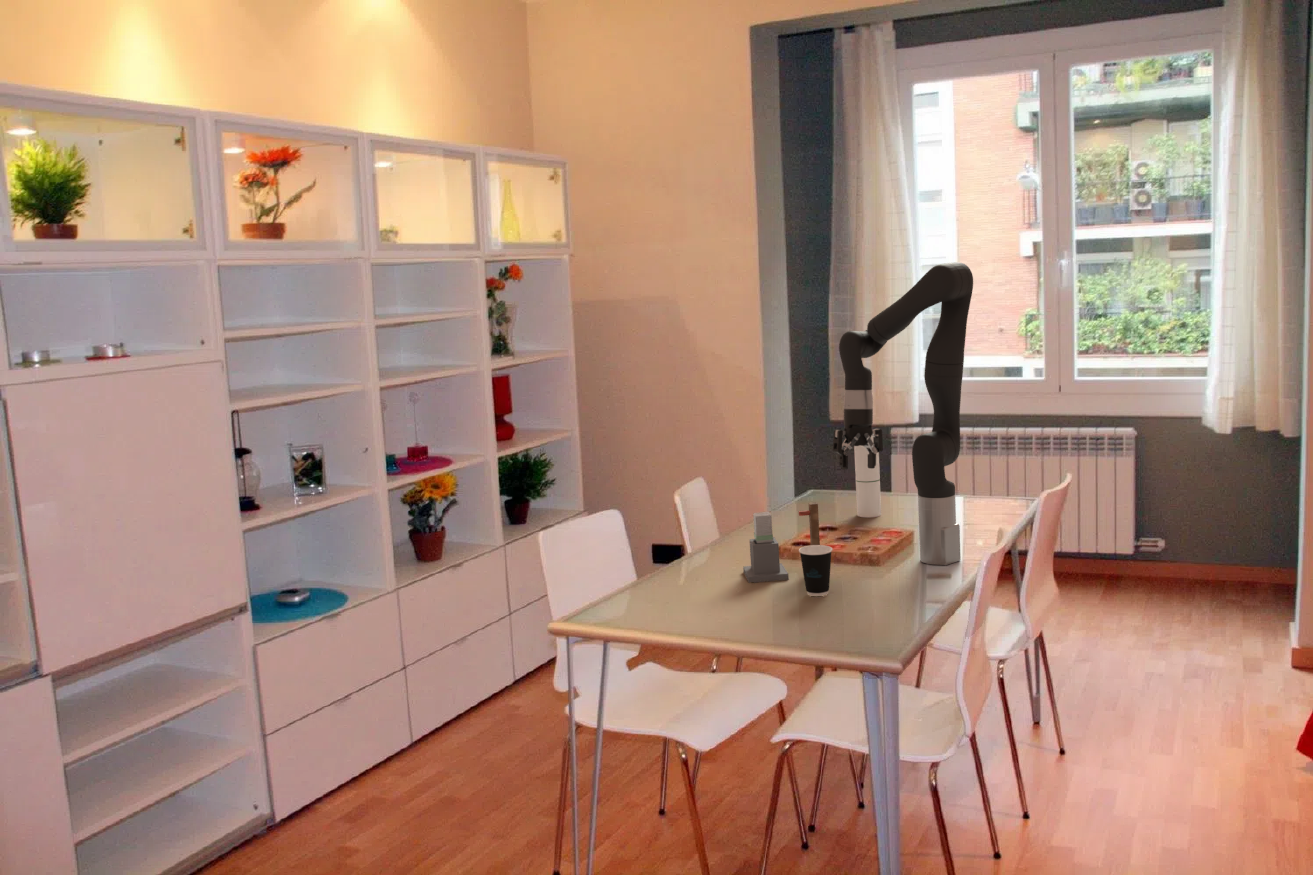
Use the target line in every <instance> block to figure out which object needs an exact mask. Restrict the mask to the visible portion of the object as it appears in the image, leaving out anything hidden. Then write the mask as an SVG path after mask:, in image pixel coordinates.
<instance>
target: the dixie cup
mask: <svg viewBox="0 0 1313 875" xmlns="http://www.w3.org/2000/svg"><path fill="white" fill-rule="evenodd" d="M798 552H799V555H800V560H801V566H802V573H803V580H804V585H805V591H806V592H807V595H808V594H809V595H811V596H822V595H826V594H828V595H829V591H830V582H831V580H830V579H831V564H832V562H831V561H832V552H833V547H831V546H829V545H824V544H820V545H811V544H810V545H805V546H802V547H800V548H799V549H798ZM811 596H810V597H811ZM826 596H827V595H826Z"/></svg>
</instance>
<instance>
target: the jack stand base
mask: <svg viewBox="0 0 1313 875" xmlns="http://www.w3.org/2000/svg"><path fill="white" fill-rule="evenodd" d="M748 540H749V554H750V565H745V566H743V568H742V569H743V574H744V576H745V578H746V579H747V582H748V583H749V584H751V583H750V582H754V583H763V582H765V581H766V582H776V581H775V580H777V581H787V580H790V579H789V573H788V570H787V569H786V568H785V566H784V565H783V563H782V562H780V549H779V548H780V547H779V542H778V541H777V539H776V537H774V536H773V543H766V544H755V538H749V539H748Z"/></svg>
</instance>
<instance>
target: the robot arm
mask: <svg viewBox="0 0 1313 875" xmlns="http://www.w3.org/2000/svg"><path fill="white" fill-rule="evenodd" d="M973 288H974V276H973V273H972V271H971V269H970V267H969V266H968V265H967V264H965V263H963V262H958V261H957V262H947V263H939V264H936V265H934V266H932V267H931V268H930V269H929V270H928V271H927V272H926V273H925V274H924V275H923V276H922V277H921V278H920V279H919V280H918V281H917V282H916V284H914V285H913V286H912V287H911V288H910V289H909V290H908V291H907V292H906V293H905V294H904V295H902V296H901V297H900V298H899V299H898V300H896V301H895V302H894V303H892V304H891V305H889V306H888V307H886V308H885V309H883V310H882V311H881V312H880V313H878V314H877V315H875V316H873V317H872V318H871V319H870V320H869V321H868V323H867V325H866V326H867V328H866V329H865V330H864V331H863V330H848V331H845V333H843V334H842V336H841V338H840V340H839V343H838V351H839V356H840V357H839V358H840V360H841V365H842V369H843V371H844V395H843V425H844V429H843V430H841V429H834V430H833V439H832V440H833V441H832V442H833V443H832V452H833V453H835V454H838V456H839V467H840V469H841V470H844V471H845V470H846V471H847V470H848V468H849V455H848V454H849V452H850V451H851V449H853V448H854V446H864V447H865V448H866V450H867V451H868V453H869V454H868V468H871V469H872V468H875V466H876V454H877V453H878V452H879V453H881V452H883V451H884V447H883V446H884V443H883V441H884V440H883V430H882V428H874V429H872V425H873V420H874V417H873V416H874V415H873V414H874V411H873V410H874V408H873V407H874V401H873V400H874V399H873V398H874V397H873V390H872V389H873V373H872V370H871V368H868V367H866V366H864V363H863V359H868V358H871V357H872V356H874V355H876V354H878V352H880V351H881V349H883V348H884V346H885V345H886V343H887V342H888V341H890V340H891V339H892V338H894V337H895V336H898V335H899V334H900V333H901V332H903V331H904V330H905V329H906V328H907V327H909V325H911V324H912V322H913V321H914V319H915V318H916V317H917V316H919V314H920V313H922V312H923V311H925V310H927V309H928V308H930V307H933V306H934V305H938V304H940V303H941V305H940V307H941V308H940V314H939V321H938V324H937V326H936V329H935V331H934V333H933V335H932V337H931V339H930V342H929V344H928V347H927V351H926V352H925V354H926V355H925V363H924V375H923V376H924V384H925V387H926V390H927V393H928V395H929V398H930V400H931V403H932V408H933V420H932V421H933V422H932V428H931V432H926V433H923V434H921V435H919V436H917V437H916V438H915V440H914V441H913V444H912V449H911V457H912V458H911V461H912V471H913V481H914V484H915V486H916V488H917V489H916V490H917V508H918V513H917V514H918V531H919V532H918V533H919V534H918V535H919V538H918V539H919V560H920V562H921V563H924V564H927V565H936V566H937V565H938V566H940V565H941V566H948V565H951V564H954V563H957V562H959V561H961V533H960V532H961V531H960V530H961V528H960V527H961V526H960V524H959V523H957V511H956V508H957V506H956V505H957V504H956V485H955V483H954V482H953V481H952V480H947V478H946V474H945V473H946V471H945V467H946V466H950V465H952V464H953V463H955V462H956V461H957V460H958V458H959V455H960V451H961V426H960V424H961V421H960V420H961V419H960V418H961V417H960V412H961V397H962V396H961V395H962V384H963V373H964V362H965V360H964V359H965V346H966V337H967V324H968V316H969V312H970V306H971V299H972V295H973ZM871 436H873V442H872V440H871ZM844 438H845V439H844ZM843 439H844V440H843Z"/></svg>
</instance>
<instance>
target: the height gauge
mask: <svg viewBox="0 0 1313 875" xmlns="http://www.w3.org/2000/svg"><path fill="white" fill-rule="evenodd" d="M798 516H799V517H803V516H808V518H809V536H810V537H809V538H810V539H809V540H810V545H821V539H820V523H819V522H820V520H819V519H820V518H819V516H820V515H819V504H818V502H808V510H799V511H798Z"/></svg>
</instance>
